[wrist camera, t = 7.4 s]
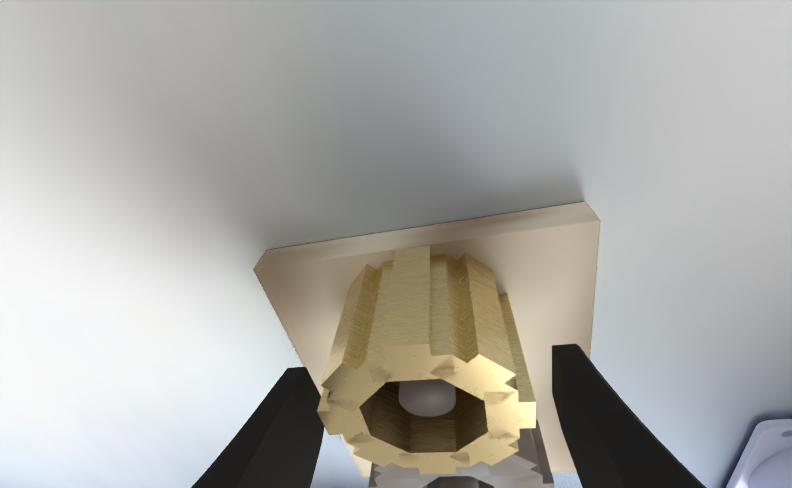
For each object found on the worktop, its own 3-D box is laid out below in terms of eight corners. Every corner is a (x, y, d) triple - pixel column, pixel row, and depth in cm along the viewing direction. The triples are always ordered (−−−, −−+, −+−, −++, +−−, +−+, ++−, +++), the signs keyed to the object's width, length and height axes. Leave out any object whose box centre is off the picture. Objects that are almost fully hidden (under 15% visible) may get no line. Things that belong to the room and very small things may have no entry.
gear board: (585, 201, 12) (660, 296, 8) (573, 446, 19) (608, 557, 15) (266, 250, 14) (202, 344, 10) (365, 454, 21) (351, 553, 17)
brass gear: (504, 235, 11) (536, 335, 8) (510, 360, 14) (535, 473, 11) (328, 257, 12) (288, 354, 9) (368, 369, 15) (349, 475, 12)
